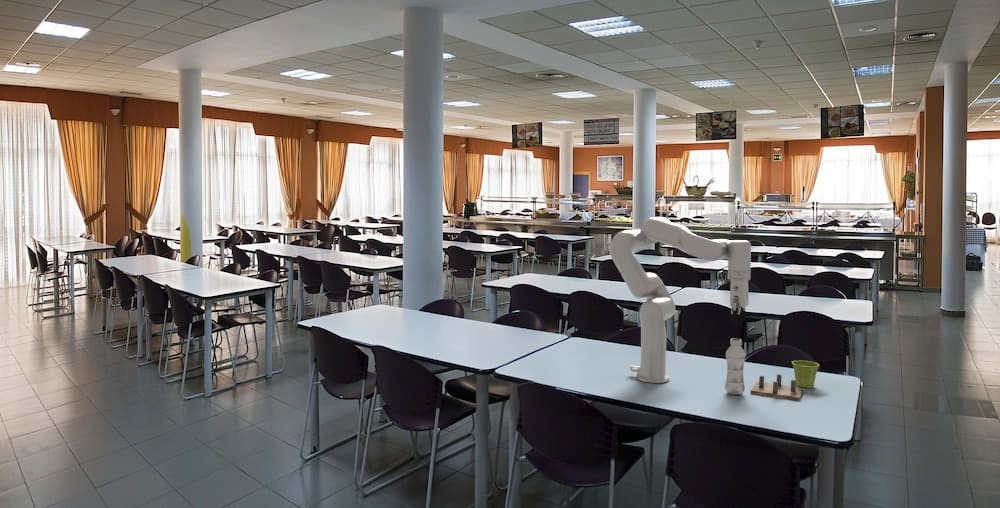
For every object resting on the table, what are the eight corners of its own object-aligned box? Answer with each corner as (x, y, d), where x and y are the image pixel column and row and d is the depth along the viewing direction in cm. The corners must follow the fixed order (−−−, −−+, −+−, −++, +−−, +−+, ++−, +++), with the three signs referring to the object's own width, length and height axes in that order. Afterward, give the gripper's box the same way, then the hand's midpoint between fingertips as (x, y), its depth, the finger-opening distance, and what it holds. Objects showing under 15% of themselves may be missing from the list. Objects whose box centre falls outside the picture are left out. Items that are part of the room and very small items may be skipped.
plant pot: (785, 383, 241) (786, 361, 240) (804, 381, 244) (805, 359, 243) (804, 390, 232) (805, 367, 231) (824, 388, 235) (825, 365, 234)
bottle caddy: (750, 393, 228) (751, 379, 228) (756, 384, 239) (756, 371, 239) (799, 400, 220) (800, 386, 220) (802, 391, 231) (803, 377, 231)
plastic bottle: (745, 397, 224) (748, 341, 222) (725, 396, 225) (727, 341, 223) (742, 392, 230) (744, 338, 228) (723, 390, 231) (725, 337, 230)
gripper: (746, 278, 214) (745, 328, 216) (754, 273, 229) (753, 320, 231) (723, 277, 218) (722, 326, 220) (732, 272, 233) (731, 318, 234)
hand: (738, 323), depth 225 cm, fingers open, 9 cm apart
